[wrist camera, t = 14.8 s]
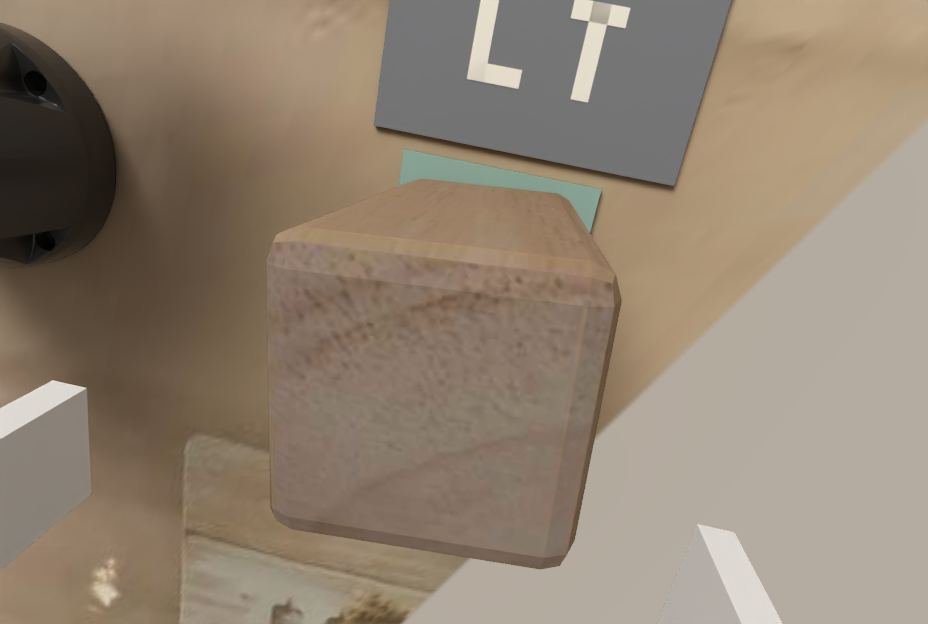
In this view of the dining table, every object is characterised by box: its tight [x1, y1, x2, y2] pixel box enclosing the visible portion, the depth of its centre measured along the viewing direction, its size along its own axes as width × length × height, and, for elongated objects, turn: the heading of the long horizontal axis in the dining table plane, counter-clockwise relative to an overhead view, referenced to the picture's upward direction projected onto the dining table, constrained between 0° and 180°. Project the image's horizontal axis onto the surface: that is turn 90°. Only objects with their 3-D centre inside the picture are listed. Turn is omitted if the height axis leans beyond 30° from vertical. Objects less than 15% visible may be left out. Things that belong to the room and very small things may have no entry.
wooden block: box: [266, 179, 622, 569], centre depth 25 cm, size 10×10×20 cm
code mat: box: [374, 0, 732, 186], centre depth 30 cm, size 18×12×1 cm, turn 79°
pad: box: [399, 149, 602, 233], centre depth 35 cm, size 12×12×1 cm
